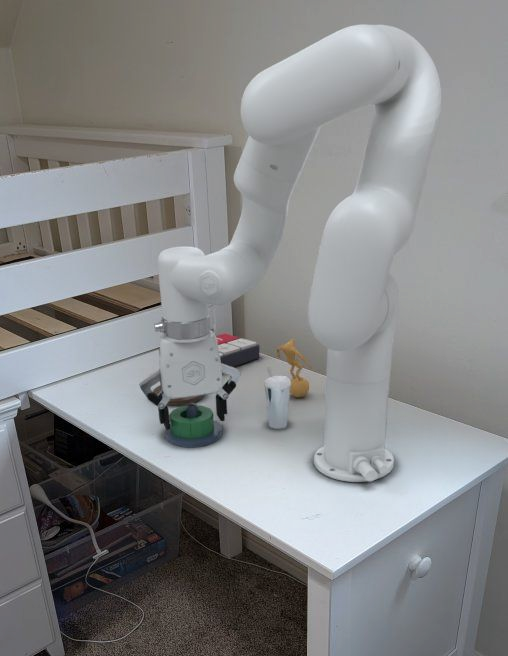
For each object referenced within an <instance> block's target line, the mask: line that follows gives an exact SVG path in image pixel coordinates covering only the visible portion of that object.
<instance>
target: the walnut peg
mask: <svg viewBox="0 0 508 656" xmlns="http://www.w3.org/2000/svg"><path fill="white" fill-rule="evenodd" d="M161 390H162V388H161V385H160V384H159V385H158V386H156V387H155V388H153V390H152V392H154V393H155V394H156V395H158V394H159V393H160V391H161ZM204 396H205V395H199V396H193V397H186V398H178V399H170V400H169V402H168V403H167V406H168V407H169V406H171V407H182V406H187V405H188V404H189V403H195V404H196V403H197V402H200V401H201V400H202V399H203V398H204Z"/></svg>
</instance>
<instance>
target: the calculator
mask: <svg viewBox="0 0 508 656" xmlns="http://www.w3.org/2000/svg"><path fill="white" fill-rule="evenodd" d="M216 339H217V343H218V348H219V354H220V360H221V363H222V364H225V365H228V366H231V367H233V368H235V367H236V366H240V365H242V364H246V363H248V362H252V361H255V360H258V359H260V350H261V349H260V348H261V347H260V344H258V343H257V342H256V341H253V340H250V339H245V338H242V337H241V338H240V337H238V336H235V335H232V334H229V333H221V334H218V335H216Z"/></svg>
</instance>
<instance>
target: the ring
mask: <svg viewBox="0 0 508 656" xmlns="http://www.w3.org/2000/svg"><path fill="white" fill-rule="evenodd" d="M196 405H197V407H198V417H197V418H192V419H189V418H187V413H186V407H187V405H181V406H178V407H177V408H174V409H172V410H171V412H169V419H170V430H171V432H172V434H173V435H175V436H177V437H179V438H186V439H195V438H201V437H204V436H206V435H208V434H210V433H211V432H212V431H213V429H214V421H215V420H214V419H215V418H214V412H213V410H212V408H211V407H210V408H209V407H207V406H205V405H199V404H196Z"/></svg>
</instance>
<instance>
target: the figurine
mask: <svg viewBox="0 0 508 656" xmlns="http://www.w3.org/2000/svg"><path fill="white" fill-rule="evenodd" d="M295 346H296V340H295V338H291V339H290V340H289V341H287V342H286V343H285V344H282V345H281V346H278V347H277V348H276V357H277V358H278V359H281V358H282V355H281V352H280V351H281V350H282V353H283V354H284V356H285V361H286V362H287V364H288V365H290V366H291V367H290V368H289V371H290V372H289V373H290V375H291V377H292V378H291V379H290V381H291V387H290V395H291V396H293V397H295V398H303V397H305V396H306V395H307V394H308V393H309V391H310V383H309V381H308V379H306V378H305V377H304V376H300V375H299V374H300V373H301V371H302V369H303V364H302V363H301V362H300V361H299V359H297V358H296V356H297V357H299V358H300V359H301V360H302V361H303V362H304V363H305V364H306V365H307V366H308V367H309V369H312V367H311V364H310V363H309V361H307V359H306V358H305V357H304V356H303V355H302V354H301V353H300V352H299V351H298V350H297V348H296V347H295ZM295 367H296V368H298V369H297V370H296V372H295V374H294V371H295Z"/></svg>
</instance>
